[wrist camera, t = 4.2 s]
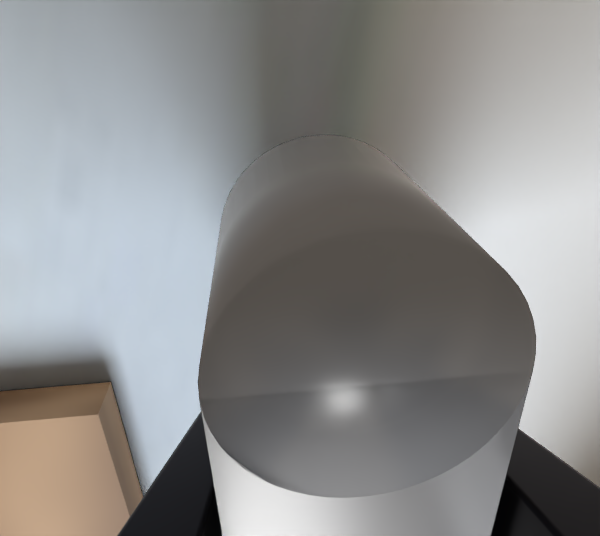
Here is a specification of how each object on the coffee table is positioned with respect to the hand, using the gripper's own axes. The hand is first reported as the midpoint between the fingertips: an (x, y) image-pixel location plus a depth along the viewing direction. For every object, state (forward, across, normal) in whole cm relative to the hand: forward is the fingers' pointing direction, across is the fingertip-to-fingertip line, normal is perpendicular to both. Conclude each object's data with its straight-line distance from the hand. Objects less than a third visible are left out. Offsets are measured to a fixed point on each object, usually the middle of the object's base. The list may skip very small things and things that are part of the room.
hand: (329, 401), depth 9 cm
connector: (+1, 0, +1) cm, 2 cm away
